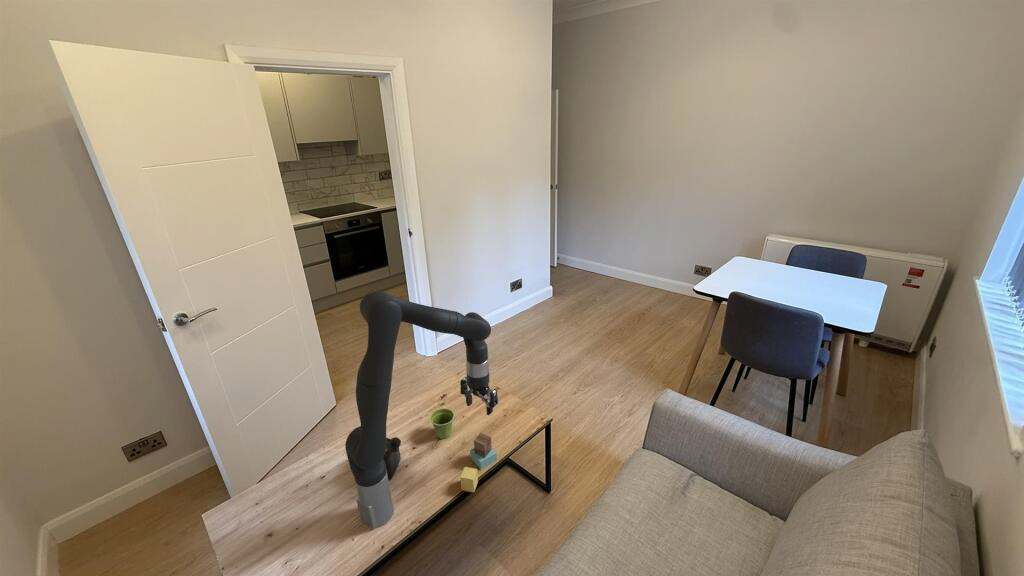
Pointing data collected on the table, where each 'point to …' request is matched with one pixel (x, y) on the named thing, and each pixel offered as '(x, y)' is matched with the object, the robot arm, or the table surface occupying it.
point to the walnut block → (482, 445)
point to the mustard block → (469, 479)
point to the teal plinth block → (482, 461)
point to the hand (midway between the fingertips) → (479, 409)
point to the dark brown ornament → (392, 455)
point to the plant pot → (442, 422)
